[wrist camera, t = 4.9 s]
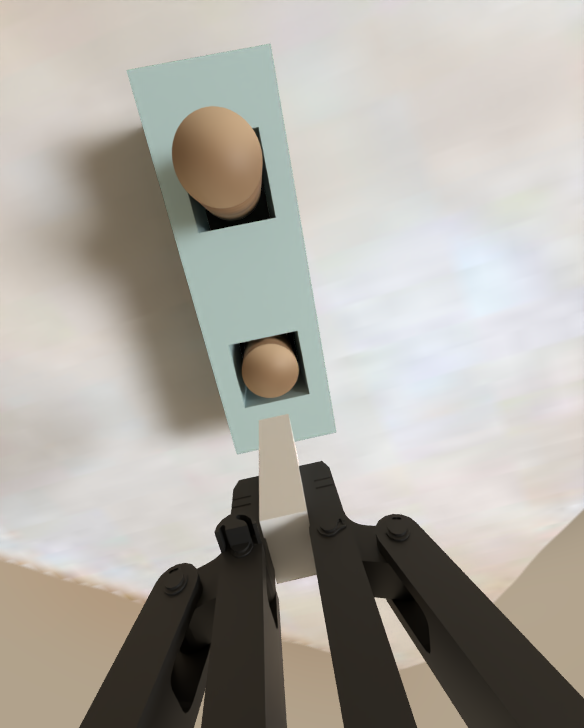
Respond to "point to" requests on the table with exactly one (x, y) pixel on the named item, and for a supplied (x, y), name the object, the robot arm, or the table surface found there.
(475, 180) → the table surface
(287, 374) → the peg
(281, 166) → the socket board
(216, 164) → the peg
